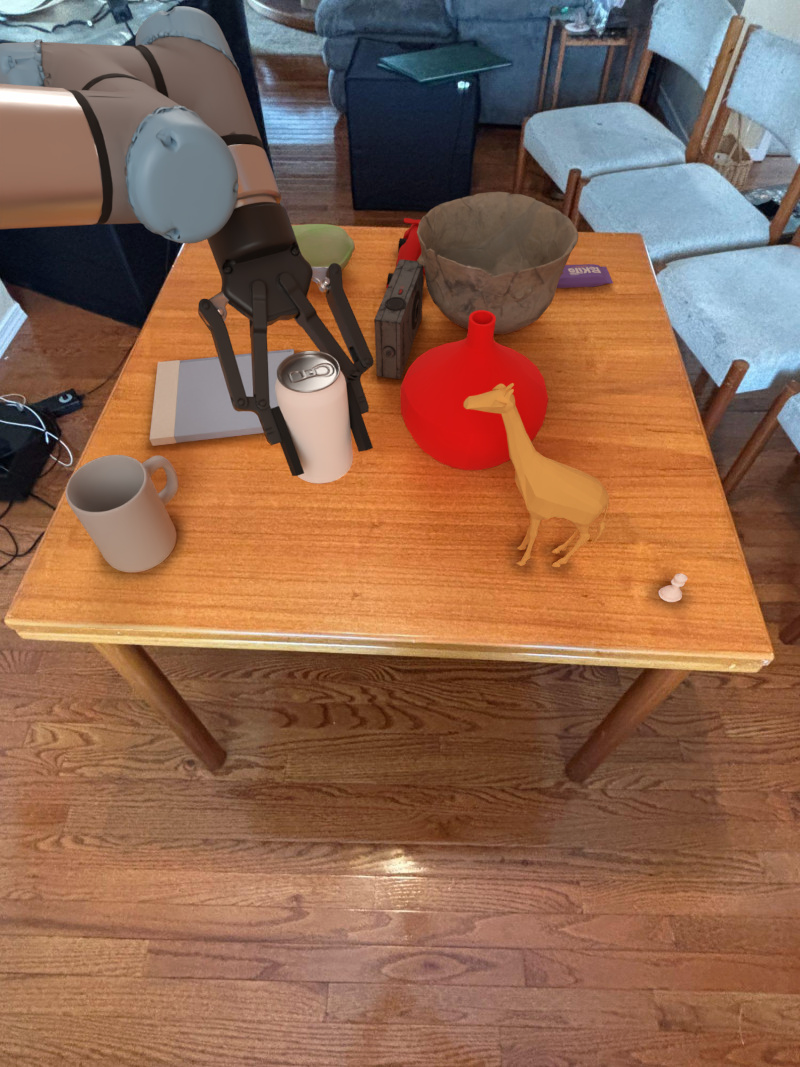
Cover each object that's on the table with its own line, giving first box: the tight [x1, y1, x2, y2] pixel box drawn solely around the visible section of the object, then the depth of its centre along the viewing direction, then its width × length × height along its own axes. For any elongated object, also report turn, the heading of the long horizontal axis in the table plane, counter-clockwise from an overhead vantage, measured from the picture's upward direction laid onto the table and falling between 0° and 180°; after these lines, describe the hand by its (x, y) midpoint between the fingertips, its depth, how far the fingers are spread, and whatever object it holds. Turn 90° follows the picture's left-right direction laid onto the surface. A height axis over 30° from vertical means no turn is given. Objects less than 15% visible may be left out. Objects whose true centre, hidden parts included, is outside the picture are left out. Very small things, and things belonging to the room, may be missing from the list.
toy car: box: [385, 217, 425, 289], centre depth 107 cm, size 6×18×5 cm, turn 170°
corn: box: [291, 223, 356, 270], centre depth 107 cm, size 8×8×20 cm
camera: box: [373, 259, 424, 380], centre depth 93 cm, size 16×4×10 cm, turn 167°
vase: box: [399, 310, 549, 471], centre depth 78 cm, size 18×18×19 cm
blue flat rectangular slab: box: [149, 348, 296, 447], centre depth 90 cm, size 20×16×1 cm
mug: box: [65, 454, 180, 573], centre depth 72 cm, size 12×8×11 cm
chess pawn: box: [658, 572, 689, 603], centre depth 69 cm, size 3×2×4 cm
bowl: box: [417, 191, 579, 335], centre depth 95 cm, size 22×22×15 cm
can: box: [275, 350, 354, 485], centre depth 61 cm, size 6×6×12 cm
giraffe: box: [463, 383, 610, 568], centre depth 64 cm, size 16×4×25 cm, turn 83°
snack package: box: [557, 263, 614, 289], centre depth 107 cm, size 12×2×5 cm
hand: (332, 461), depth 61 cm, fingers closed on can, 6 cm apart
